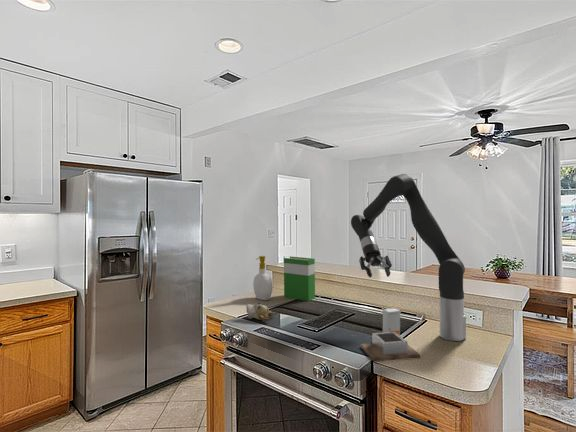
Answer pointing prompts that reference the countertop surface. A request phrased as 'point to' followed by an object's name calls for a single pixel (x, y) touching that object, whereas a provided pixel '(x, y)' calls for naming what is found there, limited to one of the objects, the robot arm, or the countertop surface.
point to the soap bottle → (262, 282)
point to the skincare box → (391, 320)
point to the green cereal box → (299, 278)
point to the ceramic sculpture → (259, 312)
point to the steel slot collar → (389, 343)
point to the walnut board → (377, 356)
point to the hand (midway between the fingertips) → (379, 276)
